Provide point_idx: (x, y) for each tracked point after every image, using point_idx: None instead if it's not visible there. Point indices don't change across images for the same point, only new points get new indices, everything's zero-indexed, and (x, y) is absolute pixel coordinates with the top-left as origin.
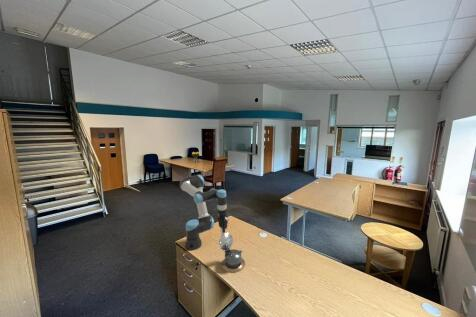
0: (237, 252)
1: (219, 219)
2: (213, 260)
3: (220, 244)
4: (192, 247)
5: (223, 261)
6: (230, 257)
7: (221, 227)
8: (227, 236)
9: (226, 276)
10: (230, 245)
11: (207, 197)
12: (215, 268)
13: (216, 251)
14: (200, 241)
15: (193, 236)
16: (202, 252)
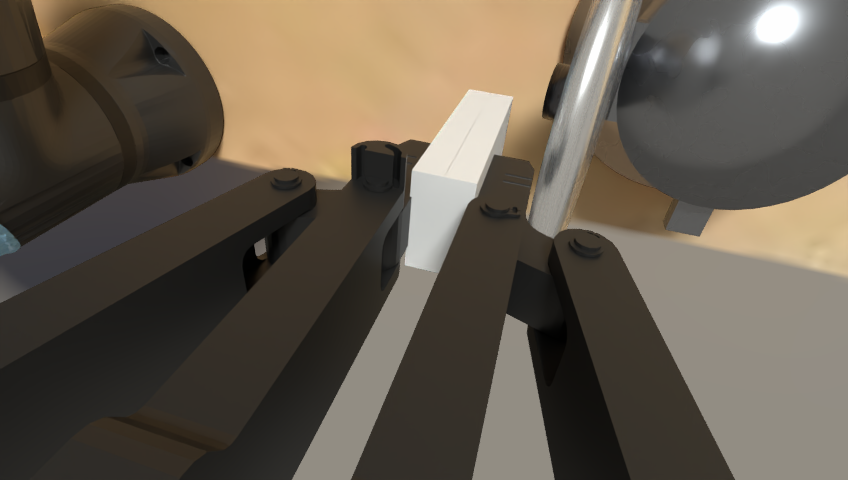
0: (820, 3)
1: (60, 435)
2: None
3: None
4: (199, 158)
5: None
6: (752, 171)
7: (395, 274)
8: (599, 99)
9: (736, 233)
10: (638, 8)
11: None
12: None
13: (381, 7)
14: (146, 45)
15: (100, 181)
16: (298, 118)
